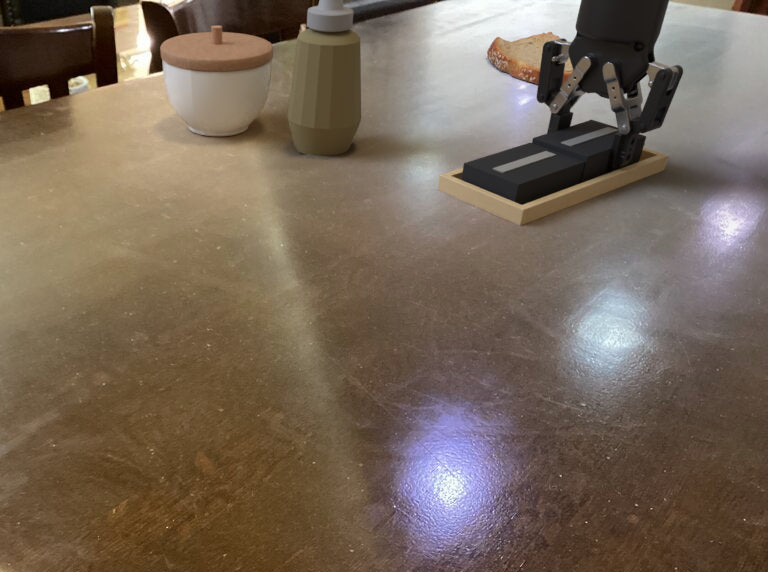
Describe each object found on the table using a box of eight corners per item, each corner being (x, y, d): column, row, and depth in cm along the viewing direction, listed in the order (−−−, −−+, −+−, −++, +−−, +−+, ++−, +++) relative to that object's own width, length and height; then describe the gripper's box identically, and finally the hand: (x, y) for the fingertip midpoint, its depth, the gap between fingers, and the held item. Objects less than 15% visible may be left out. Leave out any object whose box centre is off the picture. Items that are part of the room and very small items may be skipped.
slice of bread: (590, 94, 108) (598, 65, 106) (461, 73, 116) (465, 45, 113) (619, 64, 120) (626, 37, 118) (501, 47, 128) (505, 21, 126)
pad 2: (584, 146, 89) (591, 118, 87) (638, 164, 85) (647, 135, 83) (526, 166, 84) (532, 136, 82) (580, 186, 80) (588, 155, 78)
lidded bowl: (288, 118, 98) (291, 21, 92) (243, 151, 89) (243, 45, 83) (196, 104, 103) (193, 9, 96) (144, 134, 93) (137, 32, 87)
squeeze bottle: (349, 167, 86) (364, -21, 75) (276, 157, 88) (281, -27, 77) (366, 142, 92) (382, -35, 82) (297, 133, 94) (304, -40, 84)
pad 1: (524, 170, 84) (530, 141, 82) (577, 190, 80) (585, 160, 78) (458, 192, 79) (463, 161, 78) (512, 215, 75) (518, 183, 73)
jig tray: (580, 146, 92) (585, 128, 91) (663, 173, 85) (669, 155, 84) (436, 194, 80) (439, 174, 79) (519, 230, 74) (523, 209, 73)
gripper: (727, -12, 71) (669, 171, 81) (586, -35, 81) (549, 132, 90) (681, -2, 68) (625, 189, 77) (538, -28, 77) (505, 146, 87)
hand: (584, 157), depth 84 cm, fingers closed on pad 2, 6 cm apart
